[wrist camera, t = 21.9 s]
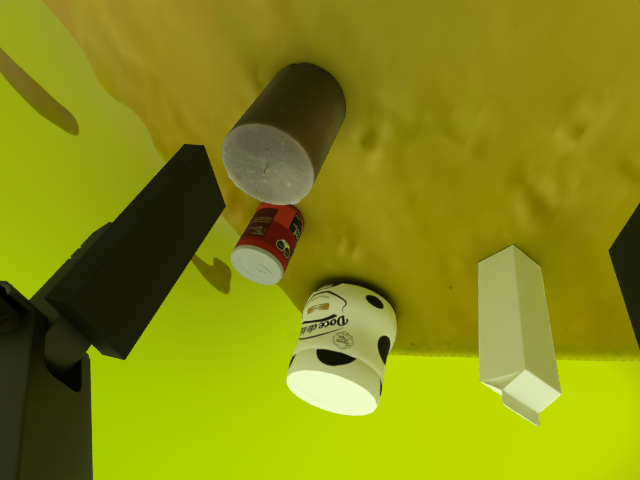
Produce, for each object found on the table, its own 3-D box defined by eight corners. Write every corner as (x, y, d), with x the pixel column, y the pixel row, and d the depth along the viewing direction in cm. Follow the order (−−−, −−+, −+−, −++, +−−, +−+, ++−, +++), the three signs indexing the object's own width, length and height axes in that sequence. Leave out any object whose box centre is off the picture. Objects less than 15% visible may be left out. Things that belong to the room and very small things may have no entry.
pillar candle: (309, 44, 41) (256, 108, 31) (362, 114, 45) (331, 191, 35) (254, 93, 47) (195, 160, 37) (305, 152, 51) (265, 227, 41)
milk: (513, 243, 53) (529, 397, 38) (541, 266, 54) (568, 424, 39) (476, 262, 57) (478, 408, 42) (504, 283, 58) (515, 431, 44)
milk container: (321, 261, 67) (288, 353, 55) (414, 295, 66) (401, 395, 54) (303, 310, 80) (273, 393, 68) (381, 339, 79) (364, 427, 67)
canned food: (297, 241, 65) (275, 292, 57) (254, 221, 64) (226, 270, 57) (311, 212, 59) (288, 265, 52) (264, 190, 58) (234, 240, 51)
